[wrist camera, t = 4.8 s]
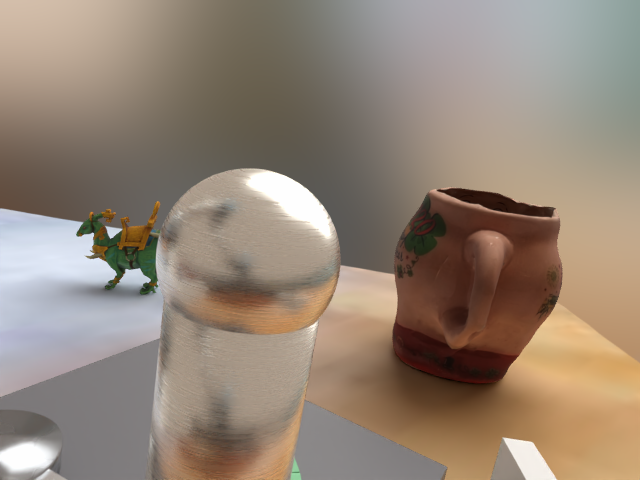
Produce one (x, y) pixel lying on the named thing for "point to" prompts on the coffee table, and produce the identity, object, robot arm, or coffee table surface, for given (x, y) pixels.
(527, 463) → the robot arm
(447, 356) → the decorative planter
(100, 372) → the dial board
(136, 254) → the figurine
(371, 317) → the coffee table surface
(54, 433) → the shiny silver rounded post
